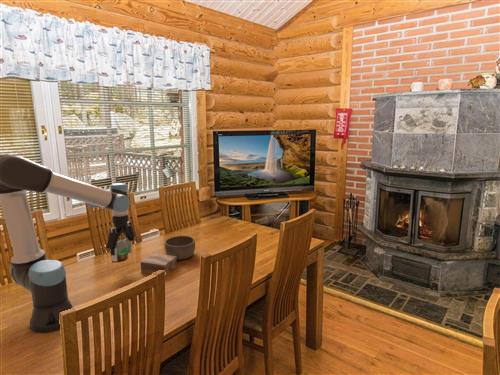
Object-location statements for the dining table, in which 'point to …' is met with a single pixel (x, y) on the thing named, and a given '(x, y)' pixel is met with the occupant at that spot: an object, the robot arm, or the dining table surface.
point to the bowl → (180, 247)
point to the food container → (122, 250)
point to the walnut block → (158, 263)
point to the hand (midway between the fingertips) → (122, 256)
